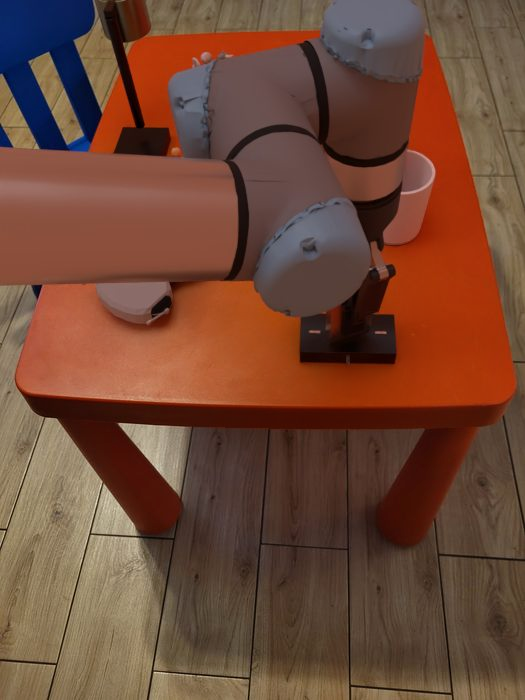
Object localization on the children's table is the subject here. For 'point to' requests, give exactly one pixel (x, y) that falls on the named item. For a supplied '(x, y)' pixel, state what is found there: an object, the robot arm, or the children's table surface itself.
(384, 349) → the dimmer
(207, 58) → the toy airplane
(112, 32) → the lamp
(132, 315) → the robot toy
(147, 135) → the lamp base
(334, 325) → the small card box
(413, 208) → the mug
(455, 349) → the children's table surface
